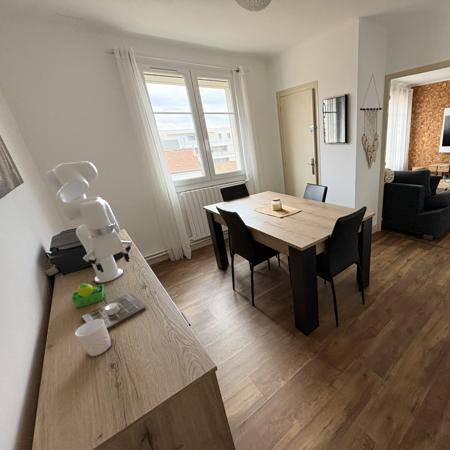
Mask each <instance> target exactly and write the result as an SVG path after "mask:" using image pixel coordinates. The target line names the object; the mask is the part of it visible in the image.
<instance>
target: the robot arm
mask: <svg viewBox="0 0 450 450" xmlns="http://www.w3.org/2000/svg"><path fill="white" fill-rule="evenodd" d="M98 177H99V172H98V170H97V168H96V167H95V165H94V164H93V163H92V162H89V161H75V162H67V163H66V162H65V163H61V164H58V165H57V166H56V167H54V169H51V170H48V171H47V172H46V173H45V178H46V180H47V182H48V184H49V185H50V186H51V188H52V189H53V190H54V191H55V192H56V196H55V203H56V206H57V207H58V209H59V211H60V213H61V215H62V216H63V217H64V219H66V220H68V221H75V222H76V223H84V224H82V225H79V226H77V228H76V229H75V235H76V237H77V238H78V240H79V241H80V243H81V244H82V246H83V248H84V250H85V252H86V254H85V255H84V256H83V257H82V260H84V261H85V262H87V263H89V264H91V265H92V268H93V270H94V273H95V275H96V276H95V277H94V281H95V283H97V284H101V283H102V284H103V283H108V282H111V281H114V280H115V279H117V278H120V277H121V276H122V274H123V273H124V271H123V269H122V268H118V265H117V262H116V260H115V258H114V255H117V254H119V253H122V256H123V258H124V261H125V262H126V263H129V262H130V259H131V258H130V255H129V253H130V251H131V249H132V243H133V242H132V241H128V240H121V237H120V235H119V234H120V232H121V228H120V225H119V223H118V221H117V219H116V217H115V215H114V213H113V211H112V208H111V206H110V204H109V203H108V202H107V201H106V200H105V199H103V198H102V197H99V196H91V197H87V196H86V194H87V193H88V191H89V189H90V185H89V184H90V183H94V182H95V181H96V180H97V179H98ZM124 245H126V247H124Z"/></svg>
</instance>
